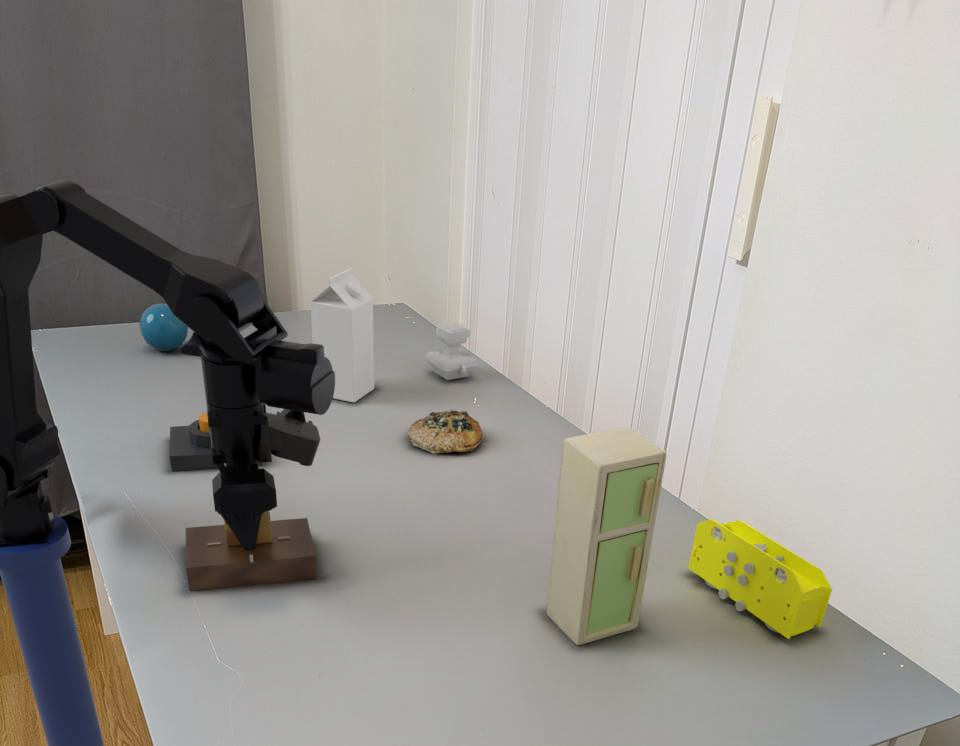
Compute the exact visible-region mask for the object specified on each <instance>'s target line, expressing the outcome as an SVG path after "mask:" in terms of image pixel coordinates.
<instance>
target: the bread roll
mask: <svg viewBox="0 0 960 746" xmlns="http://www.w3.org/2000/svg"><path fill="white" fill-rule="evenodd" d="M407 436H408V440H409V441H410V443H411V444H412V446H413V447H416V448H420V449H421V450H424V451H427V452H429V453H431V454H444V453H447V454H449V453H452V452H456V453H457V452H458V453H465V452H466V453H467V452H473V451H474V450H475V449H476V448H477V447H478V446H479V445H480V444H481V443H482V441H483V439H484V434H483V430H482V427H481V425H480V422H479V420H476V419H475V418H473V417H472V416H470V414H469V412H468V411H467V410H462V411H458V410H456V409H451V410H450V411H447V410H445V411H438V412H434V411H432V412H430V413H429V414H428V415H427V416H425V417H424V418H421V419H420V418H419V419H417V420H416V421H414V422H413V423H412V424H411V425H410V427H409V428H408V431H407Z"/></svg>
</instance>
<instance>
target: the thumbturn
mask: <svg viewBox="0 0 960 746" xmlns="http://www.w3.org/2000/svg"><path fill="white" fill-rule="evenodd" d="M270 511H271V510H270ZM270 511H266V512H264V513H263V514H262V516H261V520H260V525H259V531H258V537H257V543H256V544H260V543H272V533H271V522H270V521H271V512H270ZM223 523H224V524H223V525H225V532H226V541H227V546H237V545H241V544H240V542H239V541H238V539H237V538H236V536H235V535H234V533H233V532H232V530H231V529H230V527H229V526H228V524H227V523H226V522H225V520H224V519H223Z"/></svg>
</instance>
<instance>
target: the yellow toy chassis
mask: <svg viewBox="0 0 960 746" xmlns="http://www.w3.org/2000/svg"><path fill="white" fill-rule="evenodd" d="M688 569H689V570H690V571H692V572H693V573H694V574H696V575H697V576H698V577H700V578H701V579H703V580H704V582H705V584H706V585H707V586H708V587H710V588H711V589H714V590H718V597H719V598H720V599H722V600H726V599H728V598H730V599H731V600H732V601H733V602H735V604H734V607H735V609H736V611H738V612H743V611H745V610H746V611H748V612H749V613H751V614H752V615H754V616H755V617H756V618H758V619H759V620H760V621H762V622H763V623H764V625H765V626H766V628H767V629H769V630H770V631H772V632H775V633H777V634H780V635H781V636H783V637H785V638H786V639H788V640H791V637H794V636H797V635H800V634H802V633H806V632H808V631H810V630H812V629H814V627H815V626H816V627H818V628H821V627H822V624H823V621H824V618H825V614H826V611H827V607H828V605H829V602H830V598H831V594H832V591H833V587H832V586H831V584H830V583H829V580H828V579H827V576H826V575H825V574H824V571H823V569H821V568H819V567H817V566H816V565H814V564H813V563H812V562H809V561H808V560H806V559H804V558H803V557H802V556H800V555H798V554H796V553H795V552H793V551H791V550H790V549H788V548H786V547H785V546H783V545H782V544H781V543H779V542H777V541H775V540H774V539H773V538H771V537H769V536H767V535H766V534H764V533H763V532H761V531H760V530H758V529H756V528H754V527H753V526H751V525H749V524H748V523H747V522H745V521H743V520H742V519H738V520H734V521H729V522H725V523H720V522H718V521H717V520H715V519H714V518H710V519H706V520H703V521H701V522H697V523H696V527H695V533H694V538H693V542H692V548H691V552H690V558H689V563H688Z"/></svg>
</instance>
